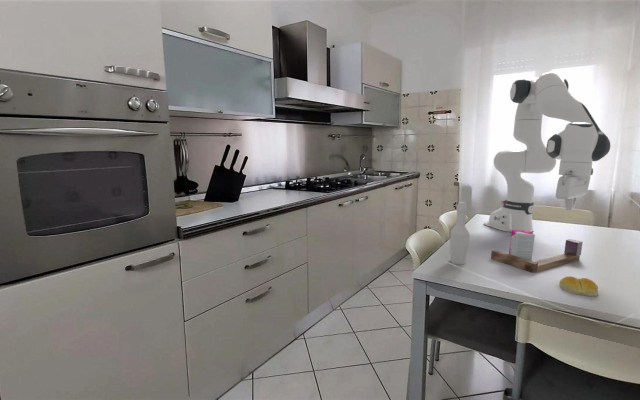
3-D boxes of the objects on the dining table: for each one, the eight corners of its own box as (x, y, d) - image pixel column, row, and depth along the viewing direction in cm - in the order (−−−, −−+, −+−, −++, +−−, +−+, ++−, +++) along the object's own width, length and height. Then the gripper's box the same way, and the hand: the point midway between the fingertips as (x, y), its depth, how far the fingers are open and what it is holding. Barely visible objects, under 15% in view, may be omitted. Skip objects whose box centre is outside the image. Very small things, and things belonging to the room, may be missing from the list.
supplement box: (531, 266, 118) (535, 234, 116) (513, 264, 119) (516, 233, 117) (525, 260, 123) (528, 230, 121) (507, 259, 124) (510, 229, 122)
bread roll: (558, 282, 104) (560, 270, 104) (595, 289, 99) (597, 277, 99) (559, 292, 97) (561, 279, 97) (599, 300, 93) (601, 286, 92)
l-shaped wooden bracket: (490, 258, 124) (492, 240, 123) (536, 247, 137) (538, 231, 136) (534, 273, 110) (537, 252, 109) (580, 260, 123) (583, 241, 122)
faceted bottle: (445, 259, 124) (449, 200, 120) (463, 259, 124) (467, 200, 120) (451, 265, 118) (456, 203, 114) (470, 266, 117) (475, 204, 114)
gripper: (575, 172, 107) (570, 215, 109) (595, 169, 119) (589, 208, 121) (552, 171, 112) (547, 211, 114) (573, 168, 124) (568, 205, 126)
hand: (569, 209), depth 118 cm, fingers closed
